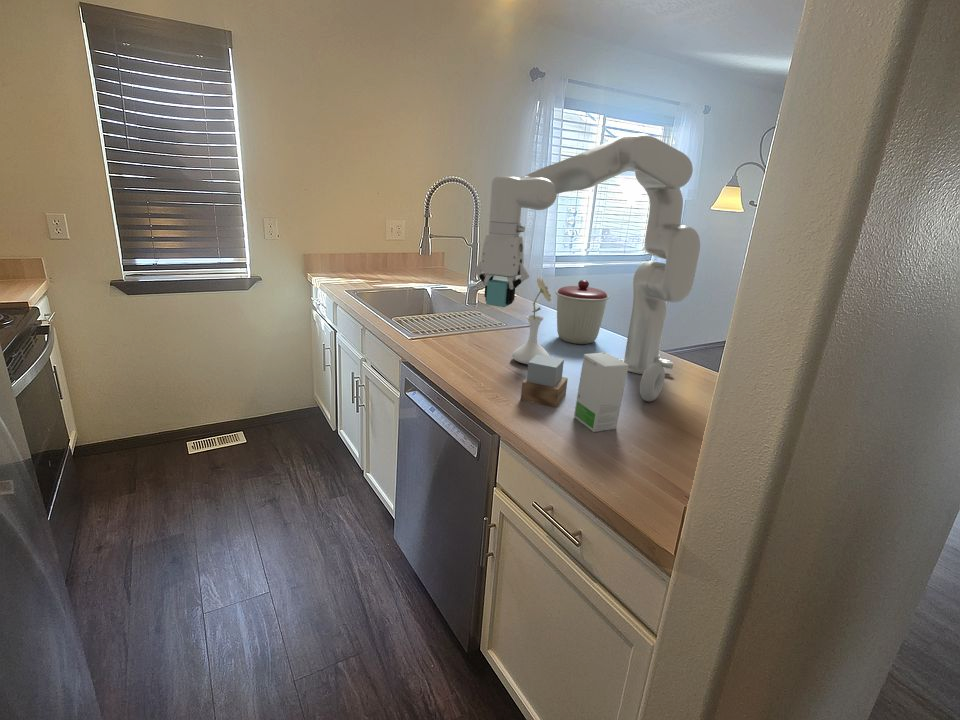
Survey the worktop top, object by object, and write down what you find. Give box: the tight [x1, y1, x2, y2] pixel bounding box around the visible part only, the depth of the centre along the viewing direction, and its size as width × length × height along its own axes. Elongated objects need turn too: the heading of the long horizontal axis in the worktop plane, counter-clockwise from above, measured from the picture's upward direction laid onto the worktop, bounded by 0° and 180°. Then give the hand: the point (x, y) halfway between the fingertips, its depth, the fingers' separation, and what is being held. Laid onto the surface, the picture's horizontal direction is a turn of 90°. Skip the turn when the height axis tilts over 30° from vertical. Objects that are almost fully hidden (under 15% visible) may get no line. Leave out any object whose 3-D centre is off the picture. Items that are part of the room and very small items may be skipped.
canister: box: [554, 279, 610, 345], centre depth 177 cm, size 18×18×21 cm
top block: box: [526, 355, 565, 387], centre depth 127 cm, size 7×7×5 cm
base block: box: [520, 376, 568, 409], centre depth 129 cm, size 9×9×5 cm
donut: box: [639, 363, 666, 402], centre depth 130 cm, size 10×3×10 cm, turn 141°
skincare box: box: [573, 351, 629, 433], centre depth 114 cm, size 8×7×16 cm
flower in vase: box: [511, 277, 552, 365], centre depth 152 cm, size 13×11×25 cm
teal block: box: [485, 277, 511, 308], centre depth 132 cm, size 5×5×6 cm
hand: (499, 301), depth 133 cm, fingers closed on teal block, 5 cm apart
